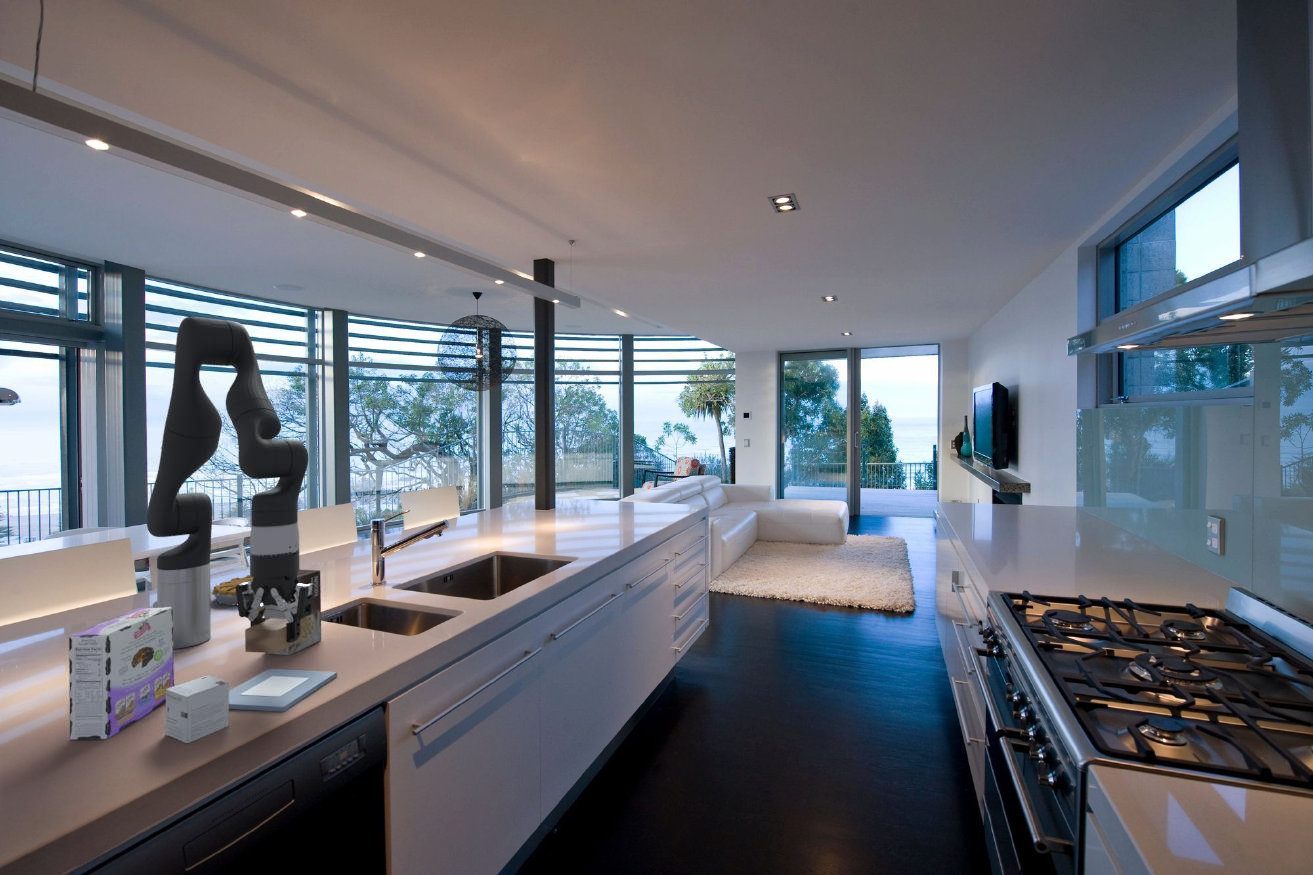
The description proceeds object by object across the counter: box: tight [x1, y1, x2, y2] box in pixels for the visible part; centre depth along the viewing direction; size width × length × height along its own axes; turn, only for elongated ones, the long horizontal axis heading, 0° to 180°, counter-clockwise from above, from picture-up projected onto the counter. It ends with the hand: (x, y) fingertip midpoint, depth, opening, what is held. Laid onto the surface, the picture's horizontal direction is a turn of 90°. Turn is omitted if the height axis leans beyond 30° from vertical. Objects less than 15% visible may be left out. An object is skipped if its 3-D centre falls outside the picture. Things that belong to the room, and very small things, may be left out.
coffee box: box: [263, 569, 322, 656], centre depth 126 cm, size 9×6×16 cm
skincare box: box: [165, 674, 230, 744], centre depth 91 cm, size 6×6×7 cm
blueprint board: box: [229, 668, 338, 712], centre depth 105 cm, size 14×14×1 cm
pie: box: [211, 574, 256, 606], centre depth 164 cm, size 22×22×5 cm
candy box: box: [68, 607, 175, 741], centre depth 95 cm, size 14×6×16 cm, turn 5°
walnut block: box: [244, 618, 301, 654], centre depth 105 cm, size 6×6×4 cm
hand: (275, 640), depth 105 cm, fingers closed on walnut block, 6 cm apart
